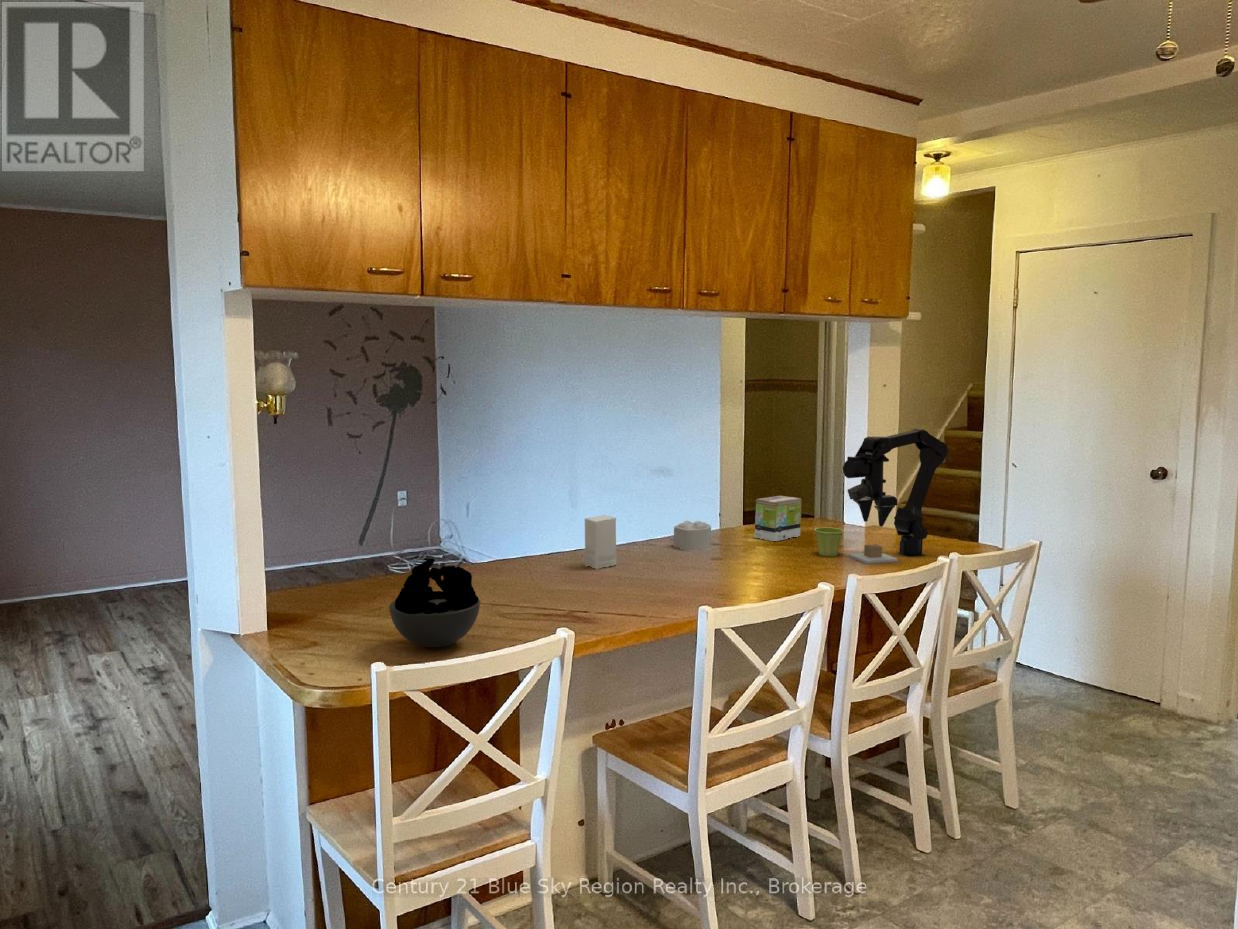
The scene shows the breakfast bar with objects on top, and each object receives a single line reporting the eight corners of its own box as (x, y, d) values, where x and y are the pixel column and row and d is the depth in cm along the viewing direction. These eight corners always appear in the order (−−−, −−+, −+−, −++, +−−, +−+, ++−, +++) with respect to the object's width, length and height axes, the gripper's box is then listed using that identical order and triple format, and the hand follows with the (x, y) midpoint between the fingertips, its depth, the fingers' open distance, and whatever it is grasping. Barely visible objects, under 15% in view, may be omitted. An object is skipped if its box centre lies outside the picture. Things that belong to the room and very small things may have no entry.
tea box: (776, 542, 314) (776, 501, 312) (753, 538, 321) (754, 498, 320) (801, 537, 324) (802, 497, 322) (779, 533, 331) (780, 494, 330)
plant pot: (840, 552, 296) (841, 527, 295) (844, 558, 287) (845, 532, 286) (812, 552, 297) (812, 527, 296) (815, 558, 288) (816, 532, 287)
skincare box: (605, 562, 283) (605, 514, 281) (617, 566, 277) (617, 517, 276) (583, 566, 278) (583, 517, 276) (595, 570, 272) (595, 520, 271)
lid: (878, 554, 292) (878, 541, 292) (897, 561, 282) (897, 548, 281) (848, 556, 289) (849, 543, 289) (867, 563, 279) (867, 550, 278)
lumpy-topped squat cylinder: (670, 546, 308) (670, 521, 307) (700, 542, 315) (700, 518, 314) (687, 551, 300) (687, 526, 299) (718, 547, 306) (718, 522, 305)
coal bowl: (467, 661, 188) (465, 575, 186) (377, 659, 190) (374, 574, 188) (490, 633, 208) (488, 555, 206) (407, 631, 210) (405, 554, 208)
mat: (879, 554, 294) (879, 553, 293) (902, 562, 281) (902, 561, 281) (844, 556, 290) (844, 555, 290) (866, 565, 278) (866, 564, 277)
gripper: (836, 473, 289) (836, 520, 291) (867, 481, 271) (866, 531, 273) (866, 472, 292) (866, 518, 294) (899, 479, 274) (898, 528, 276)
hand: (873, 523), depth 284 cm, fingers open, 9 cm apart
